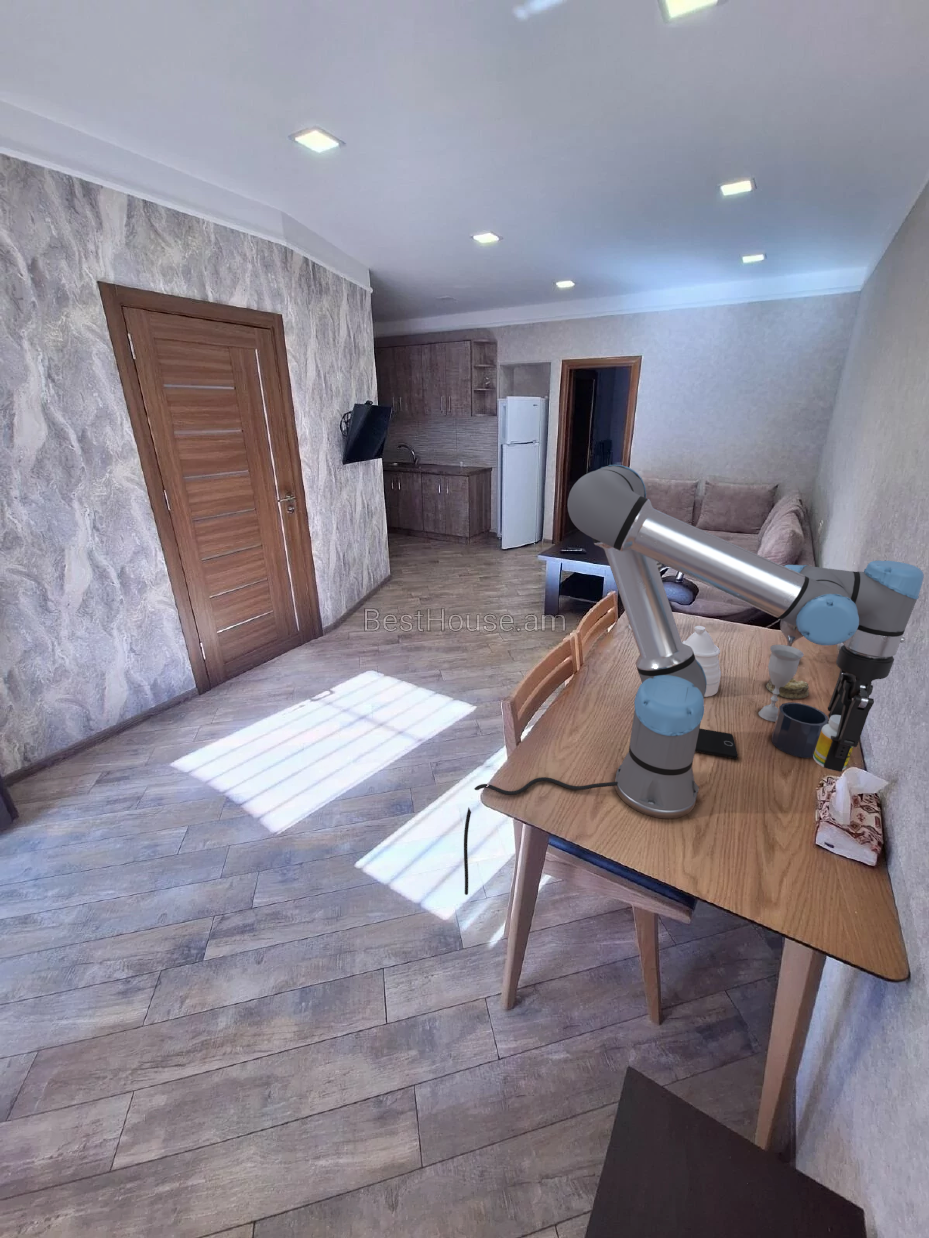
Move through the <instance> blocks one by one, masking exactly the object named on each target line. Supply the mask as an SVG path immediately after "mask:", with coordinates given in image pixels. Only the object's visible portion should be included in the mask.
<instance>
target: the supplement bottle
mask: <svg viewBox="0 0 929 1238" xmlns="http://www.w3.org/2000/svg"><path fill="white" fill-rule="evenodd" d="M828 719H829V718H828ZM840 719H841V715H832V716H831V717H830V719H829V722H828V723H829V724H826V725H824V726H823V727H822V730H821V733H820V736H819V739H818V742H817V745H816V748H815V752H814V755H813V757H812V758H813V760H814V762H815V763H816V764H818V765H819V766H820V767H822V768H824V763H825V760H826V757H827V754H828V751H829V749H830V746H831V743H832V740H831V736H835V737H836V735H837V731H838V727H839V723H840ZM853 750H854V747H853V746H851V748H850V751H849V753H848V756H847V759H846V762H845V764H844V767H843V770H842V771H844V770H845V769H846V768H847V766H848V763H849V761H850V758H851V756H852V752H853ZM825 769H827V768H825ZM827 770H830V771H832V770H831V769H827ZM833 771H835V770H833ZM835 772H836V771H835Z"/></svg>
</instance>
